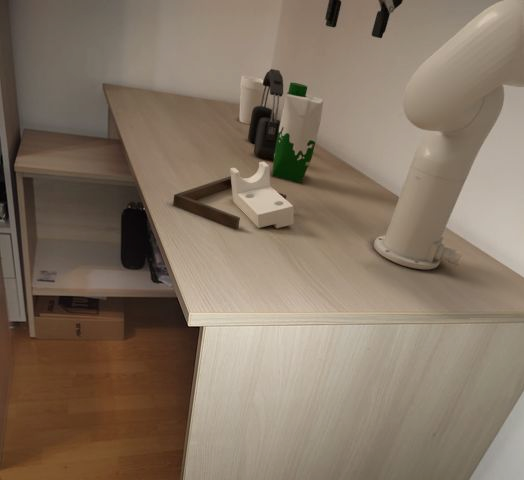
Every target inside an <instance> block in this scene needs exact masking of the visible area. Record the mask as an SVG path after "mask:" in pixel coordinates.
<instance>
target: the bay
mask: <svg viewBox="0 0 524 480" xmlns="http://www.w3.org/2000/svg"><path fill="white" fill-rule="evenodd" d="M230 188H232V184H231V175H230V176H227V177H223V178H220V179H217V180H215V181H211V182H208V183H205V184H202V185H198V186H196V187H194V188H190V189H187V190H185V191H181V192H178V193H175V194H174V195H173V203H172V205H173V207H174V206H175V207H177V208H180V209H182V210H184V211H188V212H190V213H192V214H195V215H198V216H200V217H202V218H205V219H208V220H209V221H210V220H211V221H212V222H213V221H214V222H216V223H218V224H221V225H223V226H226V227H228V228H231V229H233V230H238V229H239V226H240V222H241V221H240V220H241V217H240V216H237V215H234V214H233V213H230V212H226V211H223V210H221V209H218V208H216V207H213V206H210V205H208V204H205V203H202V202H200V201H198V200H200V199H202V198H206V197H208V196H211V195H214V194H217V193H219V192H221V191H225V190H227V189H230ZM278 193H279V194H280V195H281V196H282V197H283V198H284V199H286V200H287V194H284V193H281V192H278Z"/></svg>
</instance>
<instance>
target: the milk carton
mask: <svg viewBox="0 0 524 480" xmlns="http://www.w3.org/2000/svg"><path fill="white" fill-rule="evenodd" d="M307 90H308V86H307V85H305V84H302V83H299V82H298V83H297V82H290V83H289V87H288V91H287V93H286V95H285V98H284V99H285V100H284V105H283V108H282V112H281V117H280V121H281V122H280V127H279V132H278V137H277V142H276V147H275V153H274V159H273V164H272V171H271V172H272V174H271V176H272V177H276V178H279V179H282V180H287V181H291V182H293V183H299V184H301V182H302V181H303V179H304V177H305V174H306V173H307V170H308V168H309V165H310V163H311V162H312V159H313V155H314V150H315V146H316V142H317V138H318V133H319V130H320V125H321V121H322V114H323V107H324V106H323V105H324V99H323V98H319V97H315V96H313V95H310V94H307V93H308V92H307Z"/></svg>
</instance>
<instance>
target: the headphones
mask: <svg viewBox="0 0 524 480" xmlns="http://www.w3.org/2000/svg"><path fill="white" fill-rule="evenodd" d="M283 78H284V77H283V75H282V73H281V71H280V70H279V69H273V68H270V69H269V71H267V72H266V73H265V75H264V78H263V79H262V80H263V86H265V88H264V92H263V96H262V101H261V106H256V107H254V108H253V111H252V116H251V122H250V124H249V129H248V135H247V139H248V142H250V143H253V144H254V148H253V149H254V150H253V154H254V156H256V157H258V158H264V159H269V160H270V159H271V160H274V153H275V147H276V142H277V137H278V132H279V127H280V122H281V120H279V119H278V114H279V107H280V105H279V104H280V97H283V95H284V79H283ZM267 86H268V87H269V88H268V91H267V94H266V97H265V100H264V104H263V99H264V95H265V91H266V87H267ZM269 94H270V96H273V97H272V108H270V107H267V101H268V97H269ZM262 105H263V106H262ZM275 106H276V108H275Z"/></svg>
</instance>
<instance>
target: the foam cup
mask: <svg viewBox="0 0 524 480" xmlns="http://www.w3.org/2000/svg"><path fill="white" fill-rule="evenodd" d="M263 80H264V79H263V78H262V79H261V78H258V77H254V76H247V75H241V76H240V82H239V88H240V90H239V116H238V117H239V119H238V120H239V122H241V123H243V124H245V125H246V124H247V125H250V122H251V116H252V111H253V108H254V107H256V106H261V101H262V96H263V92H264V88H265V86H263ZM268 88H269V87H268V86H267V87H266V91H265V95H264V99H263V105H262V106H264V104H265V99H266V95H267V91H268Z"/></svg>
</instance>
